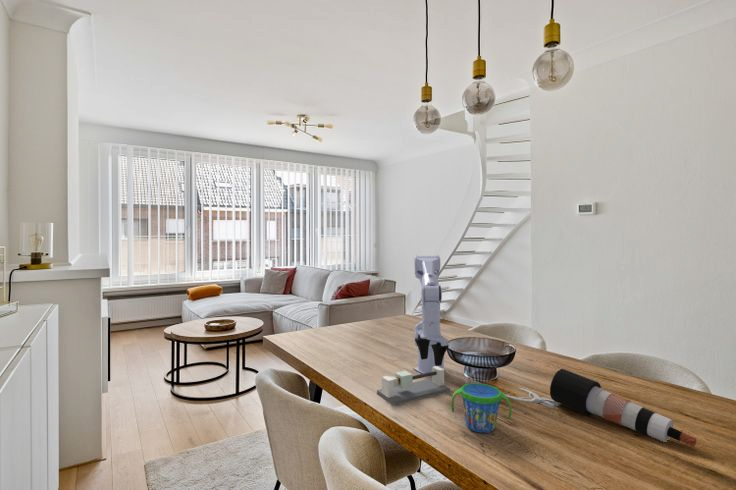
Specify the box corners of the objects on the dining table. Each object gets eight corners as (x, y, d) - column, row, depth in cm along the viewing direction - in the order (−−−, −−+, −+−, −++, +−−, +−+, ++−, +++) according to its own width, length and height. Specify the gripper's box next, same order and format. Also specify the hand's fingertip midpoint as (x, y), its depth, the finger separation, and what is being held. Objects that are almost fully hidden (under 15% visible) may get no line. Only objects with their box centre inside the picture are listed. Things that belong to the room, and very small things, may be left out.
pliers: (519, 384, 134) (564, 399, 122) (519, 389, 134) (564, 404, 122) (502, 391, 128) (547, 407, 116) (502, 396, 128) (547, 413, 116)
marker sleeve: (405, 382, 131) (405, 370, 131) (412, 386, 128) (412, 374, 127) (395, 384, 129) (395, 372, 129) (402, 389, 126) (402, 376, 125)
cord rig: (431, 381, 140) (431, 363, 140) (449, 391, 131) (450, 372, 131) (377, 393, 129) (377, 373, 129) (393, 405, 121) (393, 384, 120)
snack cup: (512, 423, 109) (512, 387, 109) (510, 442, 99) (511, 402, 99) (454, 414, 114) (454, 379, 114) (447, 431, 105) (448, 392, 104)
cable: (687, 471, 94) (686, 442, 90) (552, 407, 121) (547, 382, 118) (702, 442, 99) (702, 413, 95) (569, 386, 126) (565, 362, 122)
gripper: (408, 318, 136) (408, 357, 137) (435, 327, 124) (435, 370, 124) (425, 316, 140) (425, 355, 140) (452, 324, 127) (452, 367, 127)
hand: (431, 362), depth 132 cm, fingers open, 7 cm apart
